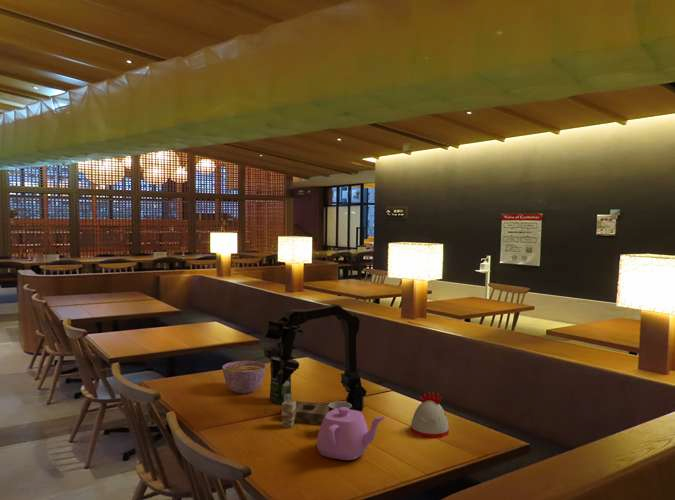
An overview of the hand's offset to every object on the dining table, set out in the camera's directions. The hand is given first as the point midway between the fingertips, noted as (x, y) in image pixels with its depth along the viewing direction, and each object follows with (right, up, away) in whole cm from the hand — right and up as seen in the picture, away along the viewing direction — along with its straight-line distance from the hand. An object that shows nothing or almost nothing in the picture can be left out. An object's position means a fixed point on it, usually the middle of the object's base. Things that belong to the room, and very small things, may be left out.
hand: (277, 381), depth 207 cm
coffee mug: (+25, -17, -10) cm, 32 cm away
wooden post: (+5, -16, -5) cm, 17 cm away
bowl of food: (-20, -14, +37) cm, 44 cm away
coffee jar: (-1, -15, +23) cm, 27 cm away
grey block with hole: (+11, -15, +4) cm, 20 cm away
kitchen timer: (+58, -17, -7) cm, 61 cm away
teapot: (+26, -17, -28) cm, 42 cm away
